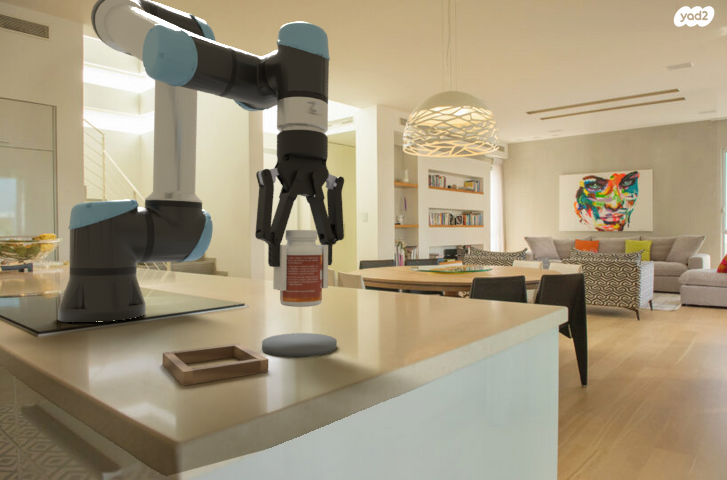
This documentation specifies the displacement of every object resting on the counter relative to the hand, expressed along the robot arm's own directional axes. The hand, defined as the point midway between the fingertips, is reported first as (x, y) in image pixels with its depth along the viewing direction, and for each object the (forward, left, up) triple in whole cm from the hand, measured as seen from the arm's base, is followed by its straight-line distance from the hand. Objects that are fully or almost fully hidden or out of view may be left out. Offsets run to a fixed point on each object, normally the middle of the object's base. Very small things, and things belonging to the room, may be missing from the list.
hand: (300, 288), depth 69 cm
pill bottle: (0, 0, -3) cm, 3 cm away
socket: (+4, -14, -9) cm, 17 cm away
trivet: (0, 0, -9) cm, 9 cm away
